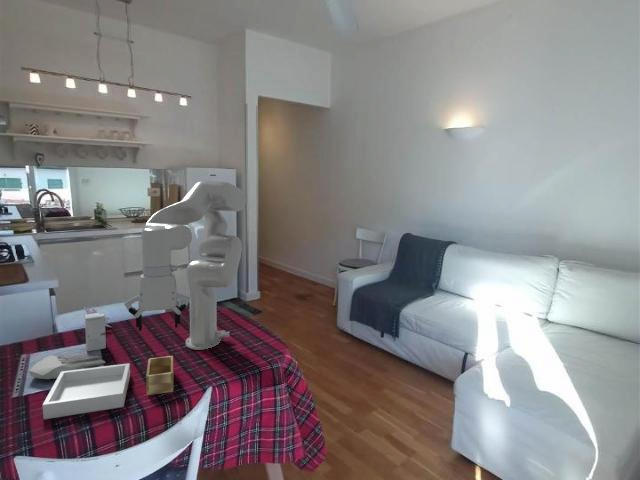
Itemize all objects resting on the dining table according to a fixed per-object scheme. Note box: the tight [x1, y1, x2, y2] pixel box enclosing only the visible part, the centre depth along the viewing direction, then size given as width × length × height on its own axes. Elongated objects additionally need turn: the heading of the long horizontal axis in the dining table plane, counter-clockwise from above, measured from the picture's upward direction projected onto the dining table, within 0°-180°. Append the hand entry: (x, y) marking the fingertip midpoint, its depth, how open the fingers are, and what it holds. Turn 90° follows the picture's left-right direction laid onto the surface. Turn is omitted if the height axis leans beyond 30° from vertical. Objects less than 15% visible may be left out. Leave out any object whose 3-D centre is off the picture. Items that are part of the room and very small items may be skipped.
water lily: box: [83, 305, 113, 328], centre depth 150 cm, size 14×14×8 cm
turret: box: [28, 354, 106, 380], centre depth 119 cm, size 10×20×5 cm, turn 137°
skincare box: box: [84, 312, 107, 352], centre depth 134 cm, size 6×4×12 cm
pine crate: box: [145, 355, 174, 396], centre depth 114 cm, size 7×11×6 cm, turn 21°
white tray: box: [42, 363, 131, 420], centre depth 107 cm, size 18×17×4 cm
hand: (158, 327), depth 111 cm, fingers open, 9 cm apart
